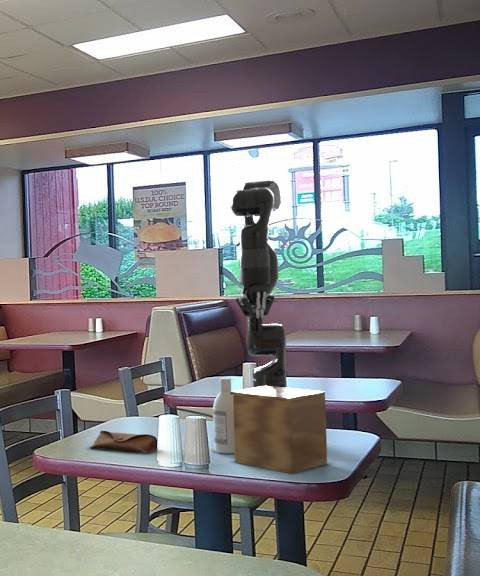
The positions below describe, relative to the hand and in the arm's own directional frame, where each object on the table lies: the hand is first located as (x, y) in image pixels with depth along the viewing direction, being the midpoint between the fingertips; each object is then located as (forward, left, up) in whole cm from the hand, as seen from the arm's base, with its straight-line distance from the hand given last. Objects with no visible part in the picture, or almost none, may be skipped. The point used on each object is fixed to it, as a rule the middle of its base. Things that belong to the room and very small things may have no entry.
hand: (256, 332), depth 213 cm
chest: (+6, 0, -33) cm, 34 cm away
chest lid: (+6, 0, -16) cm, 17 cm away
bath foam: (-12, +2, -33) cm, 35 cm away
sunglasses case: (-34, -16, -33) cm, 50 cm away
